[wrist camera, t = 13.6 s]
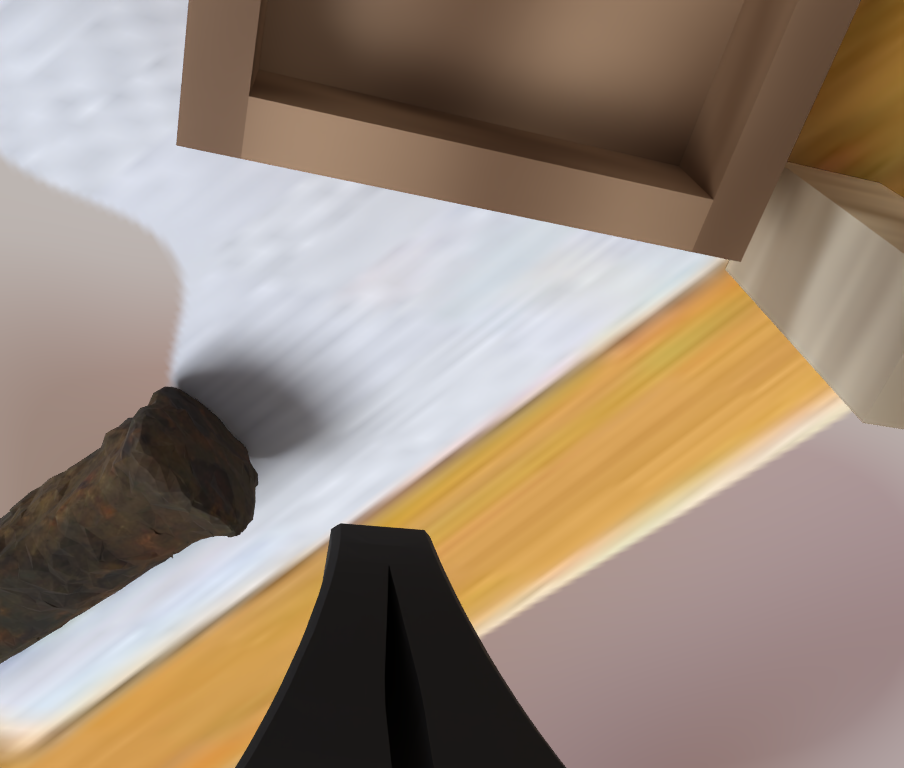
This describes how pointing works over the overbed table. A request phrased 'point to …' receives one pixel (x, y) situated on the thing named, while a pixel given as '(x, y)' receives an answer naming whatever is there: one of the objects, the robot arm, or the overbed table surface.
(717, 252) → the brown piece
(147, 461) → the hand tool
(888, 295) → the block
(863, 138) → the overbed table surface
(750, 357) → the overbed table surface
